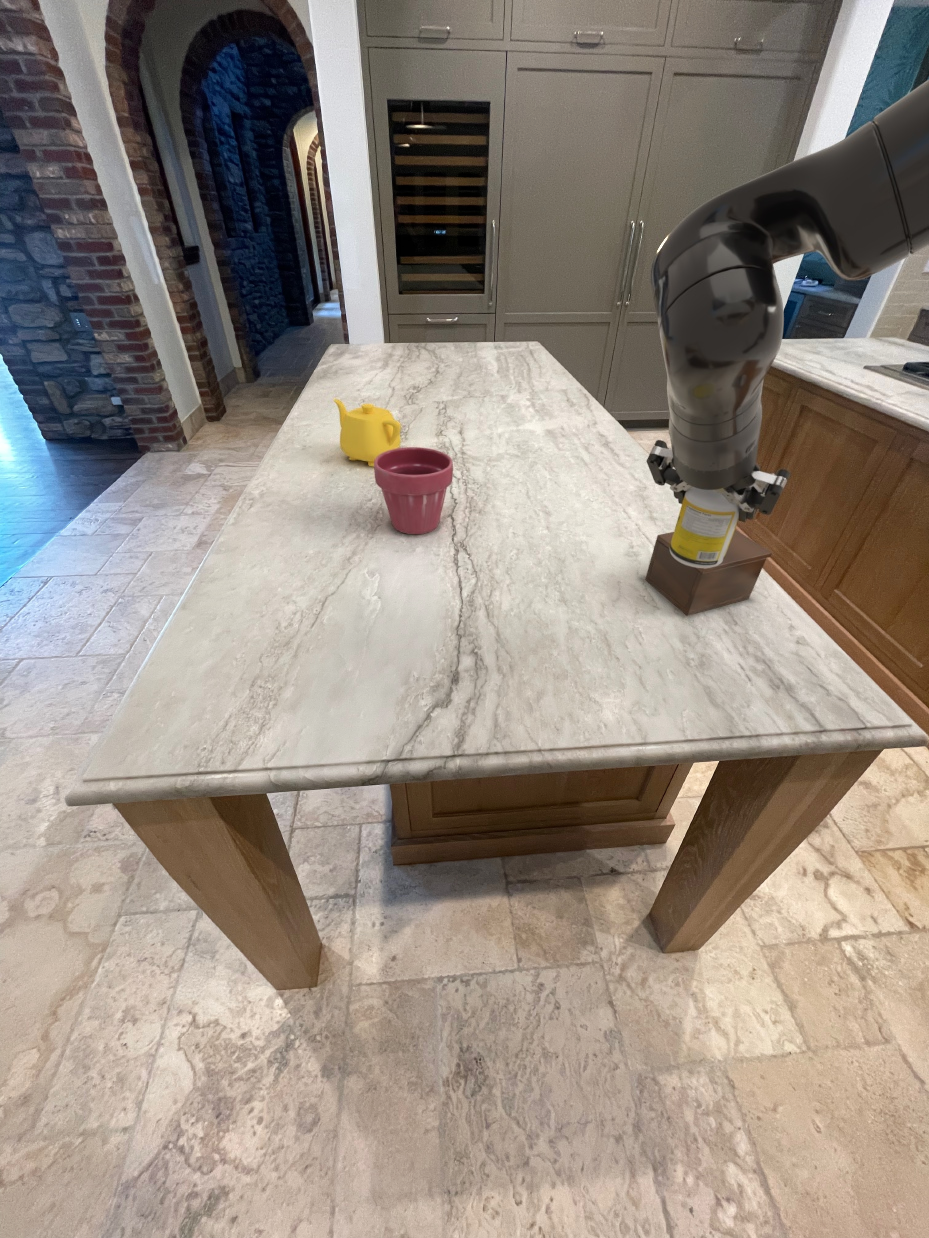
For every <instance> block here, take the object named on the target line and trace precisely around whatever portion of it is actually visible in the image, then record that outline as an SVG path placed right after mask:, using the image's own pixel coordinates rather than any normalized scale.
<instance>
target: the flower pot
mask: <svg viewBox="0 0 929 1238" xmlns="http://www.w3.org/2000/svg"><path fill="white" fill-rule="evenodd" d="M373 471H374V480H375V484H376V485H377V487H379V488H380V489H381V492H382V497H383V498H384V499H383V500H384V502H385V505H386V508H387V511H388V515H389V519H390V522H391V524H392V527H393V528H394V529H395V530H396V531H398V532H400V533H403V534H407V535H423V534H428V533H430V532H433V531H434V530H436V529H437V528H438V526H439V523H440V519H441V516H442V513H443V512H442V511H443V507H444V504H445V499H446V495H447V489H448V488H449V486H450V485H451V484H452V482H453V478H454V477H453V474H454V464H453V459H452V457H451V456H450V455H449V454H447V453H445V452H443V451H440V450H437V449H434V448H428V447H422V446H421V447H418V446H408V447H407V446H406V447H399V448H397V449H392V450H389V451H386V452H384V453H382V454H380V455H378V456H377V457H376V458H375V460H374V466H373Z"/></svg>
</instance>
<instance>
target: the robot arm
mask: <svg viewBox="0 0 929 1238" xmlns="http://www.w3.org/2000/svg"><path fill="white" fill-rule="evenodd" d="M927 247H929V79H927V80H926V81H925V82H923V83H921V84H920V85H918V86H917V87H916V88H914V89H913V90H911V91H910V92H908V93H907V94H905V95H904V96H903V97H901V98H900V99H898V100H897V101H895V102H894V103H893V104H891V105H890V106H889V107H887V108H886V109H884V110H883V111H881V112H880V113H878V114H876V116H874V117H873V119H872V121H869V120H868V121H867V122H866V123H865V124H863V125H862V126H860V127H859V128H858V129H856V130H855V131H853V132H852V133H851V134H850V135H848V136H846V137H845V138H843V139H841V140H840V141H838V142H836V143H834V144H832V145H830V146H828V147H825V148H823V149H821V150H818V151H816V152H813V153H810V154H808V155H805V156H802V157H800V158H798V159H795V160H792V161H791V162H788V163H786V164H784V165H782V166H780V167H777V168H776V169H773V170H771V171H769V172H766V173H764V174H762V175H759V176H757V177H755V178H753V179H751V180H748V181H746V182H744V183H742V184H739V185H737V186H735V187H733V188H730V189H728V190H726V191H724V192H722V193H720V194H718V195H716V196H714V197H712V198H710V199H707V200H706V201H705V202H704V203H702V204H700V205H698V206H697V207H696V208H694V209H693V210H692V211H691V212H689V213H688V214H686V216H684V217H683V219H681V220H680V222H678V223H677V224H676V225H675V226H674V227H673V229H672V230H671V231H670V232H669V233H668V235H666V237H665V239H664V240H663V241H662V243H661V244H660V246H659V248H658V250H657V251H656V253H655V255H654V258H653V260H652V264H651V268H650V289H651V295H652V299H653V304H654V308H655V314H656V315H655V316H656V322H657V325H658V326H657V327H658V334H659V339H660V344H661V350H662V355H663V360H664V366H665V370H666V376H667V377H666V395H667V403H668V410H669V417H668V418H669V419H668V435H669V439H670V446H671V448H670V447H669V446H668V444H667V442H665V441H664V440H661V439H657V440H655V442H654V444H653V446H652V448H651V450H650V453H649V455H648V456H647V458H646V460H645V461H646V464H647V467H648V469H649V472H650V474H651V477H652V479H653V481H654V483H655V484H657V485H658V486H665V484H666V485H669V490H671V491H672V494H673V497H674V499H676V500H677V502H678V504H680V505H682V503H683V499H684V496H685V493H686V490H688V489H690V488H692V487H695V488H698V489H703V490H715V491H716V492H717V493H721V494H722V495H723V496H724V497H725V498H726V499H727V500H728V501H729V502H730V503H731V504H737V505H738V506H739V507H740V511H739V520H738V522H742V523H746V521H747V520H750V521H751V520H753V519H754V517H755V515H756V513H757V511H758V512H759V513H760V514H762V515H766V516H769V515H771V514H772V512H773V510H774V509H775V507H776V504H777V503H778V501H779V498H780V497H781V494H782V492H783V490H784V488H785V486H786V484H787V482H788V480H789V478H790V476H791V472H790V471H789V470H788V469H783V468H778V469H777V470H776V473H773V472H771V473H768V472H765V471H761V468H760V466H759V464H758V463H757V456H758V450H759V449H758V448H759V441H760V436H761V429H762V428H761V427H762V420H763V403H762V395H763V387H764V379H765V377H766V376H767V374H768V372H769V370H770V368H771V367H772V365H773V363H774V361H775V360H776V357H777V356H778V353H779V351H780V349H781V347H782V342H783V334H784V324H785V322H784V321H785V317H784V316H785V315H784V314H785V313H784V304H783V297H782V294H781V290H780V285H779V282H778V279H777V274H776V271H775V267H774V264H776V263H778V262H781V261H784V260H787V259H791V258H794V257H798V256H801V255H805V254H808V253H809V254H810V253H819V254H820V255H821V256H822V257H823V259H824V260H825V261H826V263H827V264H828V265H829V266H830V268H831V270H832V271H833V272H834V273H835V274H836V275H837V276H838V277H840V278H841V279H844V280H846V281H860V280H864V279H865V278H866V279H867V278H869V277H870V276H873V275H875V274H877V273H880V272H882V271H884V270H886V269H888V268H890V267H891V266H894V265H896V264H897V263H899V262H901V261H903V260H904V259H907V258H908V257H909V255H914V254H917V253H919V252H920V251H922V250H924V249H926V248H927Z"/></svg>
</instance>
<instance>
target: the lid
mask: <svg viewBox="0 0 929 1238" xmlns="http://www.w3.org/2000/svg"><path fill="white" fill-rule="evenodd" d="M673 534H674V531H671V532H665V533H661V534H657V536H656V540H658V541H659V542H661V543H662V544H663V545H665V546H666V547H668V548H669V549H670V544H671V541H672V537H673ZM772 554H773V552H772V551H771V550H769V549H767V548H765V547H764V546H762V545H761V544H759V543H758V542H756V541H754V540H752V539H751V538H749V537H748V536H746V535H745V534H744V533H742V532H740V531H738V530H737V529H735V531H734V534H733V536H732V539H731V541H730V544H729V547H728V549H727V552H726V555H725V557H724V560H723V561H722V562H721V563H720V564H719V565H717V566H715V567H711V568H696V567H694V568H696V569H697V570H699V571H700V572H701V573H706V572H710V571H714V570H719V569H723V568H727V567H731V566H735V565H739V564H743V563H748V562H752V561H756V560H760V559H764V558H766V559H768V558H771V557H772Z"/></svg>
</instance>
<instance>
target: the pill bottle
mask: <svg viewBox="0 0 929 1238" xmlns="http://www.w3.org/2000/svg"><path fill="white" fill-rule="evenodd" d="M739 511H740V507H739V506H738V505H737V504H731V503H730V502H729V501H728V500H727V499H726V498H725V497H724V496H723V495H722V494H721V493H717V492H716V491H715V490H703V489H698V488H695V487H692V488H690V489H688V490H686V493H685V496H684V499H683V503H682V504H681V506H680V510H679V514H678V517H677V520H676V524H675V526H674V531H673V532H674V534H673V537H672V541H671V544H670V553H671V555H672V556H673V557H674V558H675V559H676V560H677V561H679V562H681V563H683V564H685V565H688V566H691V567H696V568H711V567H715V566H717V565H719V564H720V563H721V562H722V561H723V560H724V557H725V555H726V552H727V549H728V547H729V544H730V541H731V539H732V536H733V534H734V531H735V530H736V528H737V525H738V523H739Z"/></svg>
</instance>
